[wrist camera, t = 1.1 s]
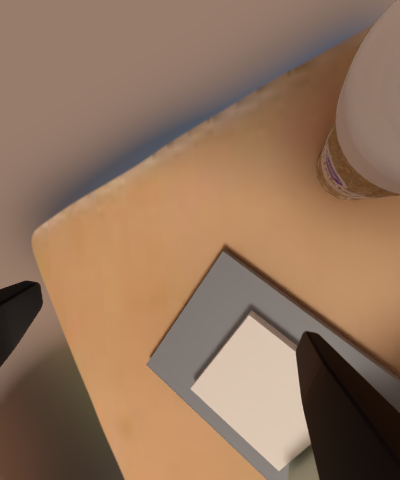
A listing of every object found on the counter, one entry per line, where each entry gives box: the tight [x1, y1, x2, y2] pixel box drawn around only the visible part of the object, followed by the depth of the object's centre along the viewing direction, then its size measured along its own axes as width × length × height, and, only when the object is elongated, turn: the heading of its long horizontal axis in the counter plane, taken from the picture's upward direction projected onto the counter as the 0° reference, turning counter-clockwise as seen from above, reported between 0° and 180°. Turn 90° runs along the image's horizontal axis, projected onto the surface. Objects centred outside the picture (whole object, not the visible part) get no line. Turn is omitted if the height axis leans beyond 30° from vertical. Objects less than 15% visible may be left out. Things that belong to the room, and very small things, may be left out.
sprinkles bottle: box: [317, 0, 400, 200], centre depth 11 cm, size 5×5×14 cm
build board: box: [146, 250, 400, 480], centre depth 19 cm, size 18×14×5 cm
